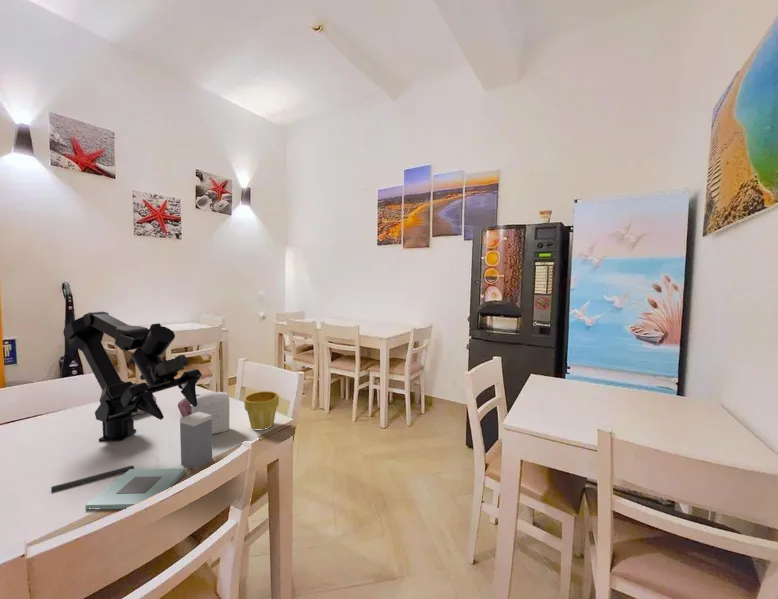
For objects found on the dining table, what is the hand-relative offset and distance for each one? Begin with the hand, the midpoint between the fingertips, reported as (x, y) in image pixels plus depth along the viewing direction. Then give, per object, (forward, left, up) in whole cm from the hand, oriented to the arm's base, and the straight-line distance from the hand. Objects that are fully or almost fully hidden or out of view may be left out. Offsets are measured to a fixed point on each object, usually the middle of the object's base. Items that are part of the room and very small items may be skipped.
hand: (180, 412), depth 89 cm
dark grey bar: (-15, -10, -12) cm, 22 cm away
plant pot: (+15, +18, -12) cm, 27 cm away
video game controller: (-11, +30, -12) cm, 35 cm away
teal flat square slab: (-2, -14, -12) cm, 18 cm away
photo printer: (+1, +14, -12) cm, 19 cm away
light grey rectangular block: (+5, -3, -12) cm, 14 cm away
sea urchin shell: (-33, +31, -12) cm, 47 cm away
